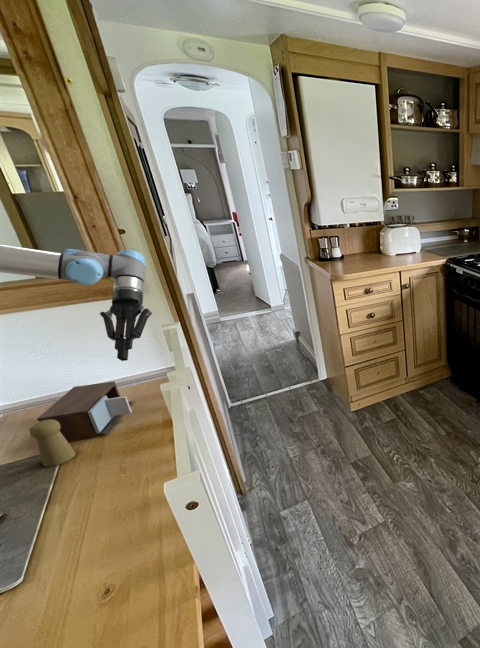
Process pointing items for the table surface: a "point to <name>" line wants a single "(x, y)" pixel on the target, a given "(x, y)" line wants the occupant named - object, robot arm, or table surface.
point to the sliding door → (107, 411)
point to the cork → (51, 443)
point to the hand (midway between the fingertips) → (122, 359)
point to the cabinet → (80, 410)
